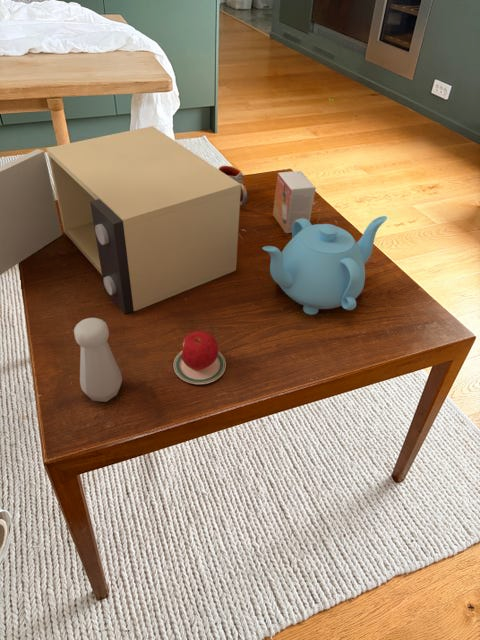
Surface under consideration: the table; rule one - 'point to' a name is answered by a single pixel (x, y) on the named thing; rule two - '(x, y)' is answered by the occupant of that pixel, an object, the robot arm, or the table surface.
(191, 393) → the table surface
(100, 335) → the salt shaker
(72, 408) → the table surface
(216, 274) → the microwave
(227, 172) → the mug
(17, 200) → the microwave door
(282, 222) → the small box
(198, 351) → the apple
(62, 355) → the table surface
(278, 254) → the teapot
